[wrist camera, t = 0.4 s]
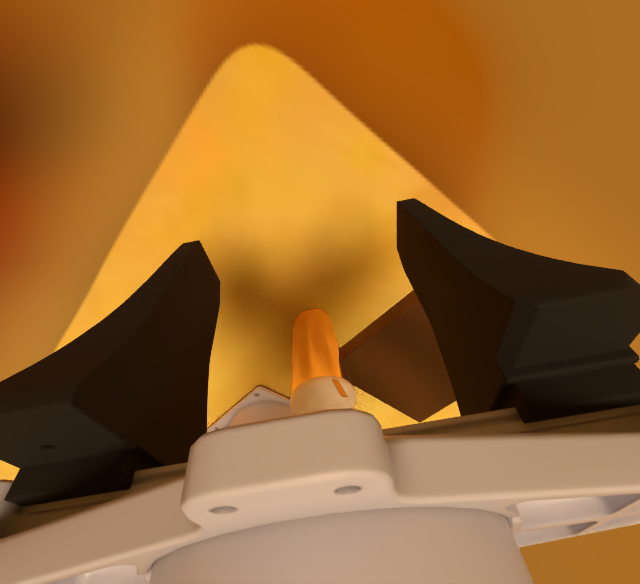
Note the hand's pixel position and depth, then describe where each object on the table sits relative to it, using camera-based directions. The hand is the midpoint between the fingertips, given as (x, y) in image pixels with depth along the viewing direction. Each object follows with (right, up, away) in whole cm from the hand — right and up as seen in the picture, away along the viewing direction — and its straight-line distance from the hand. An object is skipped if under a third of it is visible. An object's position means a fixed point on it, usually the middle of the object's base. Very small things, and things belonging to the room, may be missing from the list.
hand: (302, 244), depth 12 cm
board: (+11, -8, +21) cm, 25 cm away
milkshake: (0, -4, +17) cm, 17 cm away
